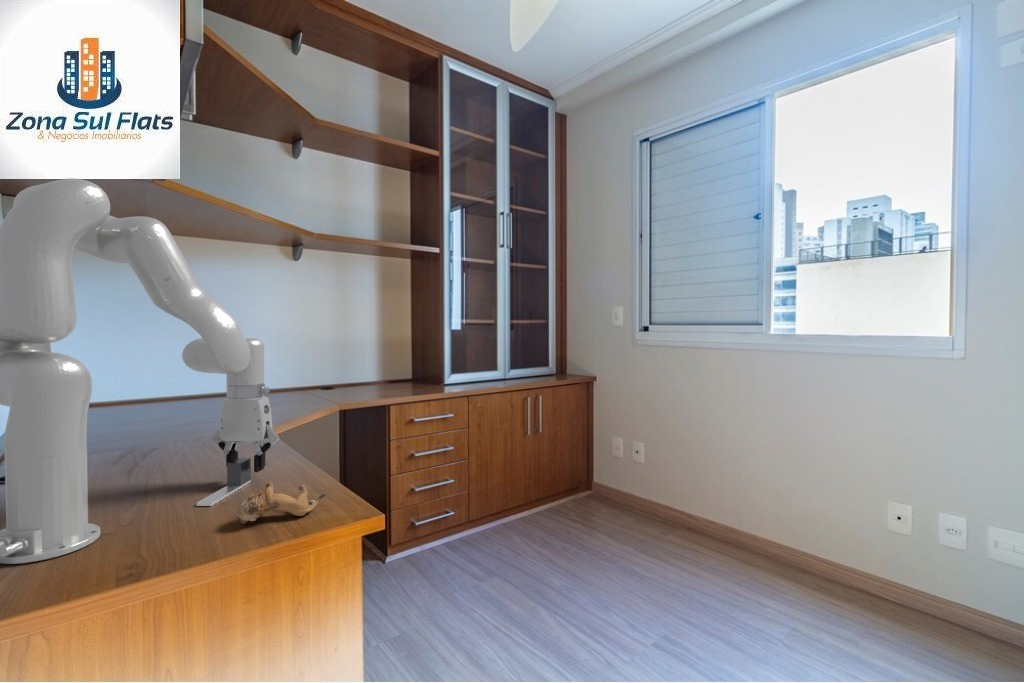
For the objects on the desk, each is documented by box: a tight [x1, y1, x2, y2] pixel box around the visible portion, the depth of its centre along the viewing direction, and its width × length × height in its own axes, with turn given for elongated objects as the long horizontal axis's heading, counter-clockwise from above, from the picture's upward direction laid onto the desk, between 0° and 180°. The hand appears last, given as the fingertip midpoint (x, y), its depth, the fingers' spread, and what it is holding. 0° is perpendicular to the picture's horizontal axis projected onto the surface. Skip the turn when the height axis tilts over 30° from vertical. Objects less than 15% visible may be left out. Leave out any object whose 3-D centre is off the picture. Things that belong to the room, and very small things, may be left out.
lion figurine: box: [235, 481, 327, 525], centre depth 90 cm, size 15×5×9 cm
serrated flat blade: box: [196, 457, 252, 507], centre depth 102 cm, size 14×3×6 cm, turn 0°
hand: (245, 469), depth 109 cm, fingers open, 5 cm apart
